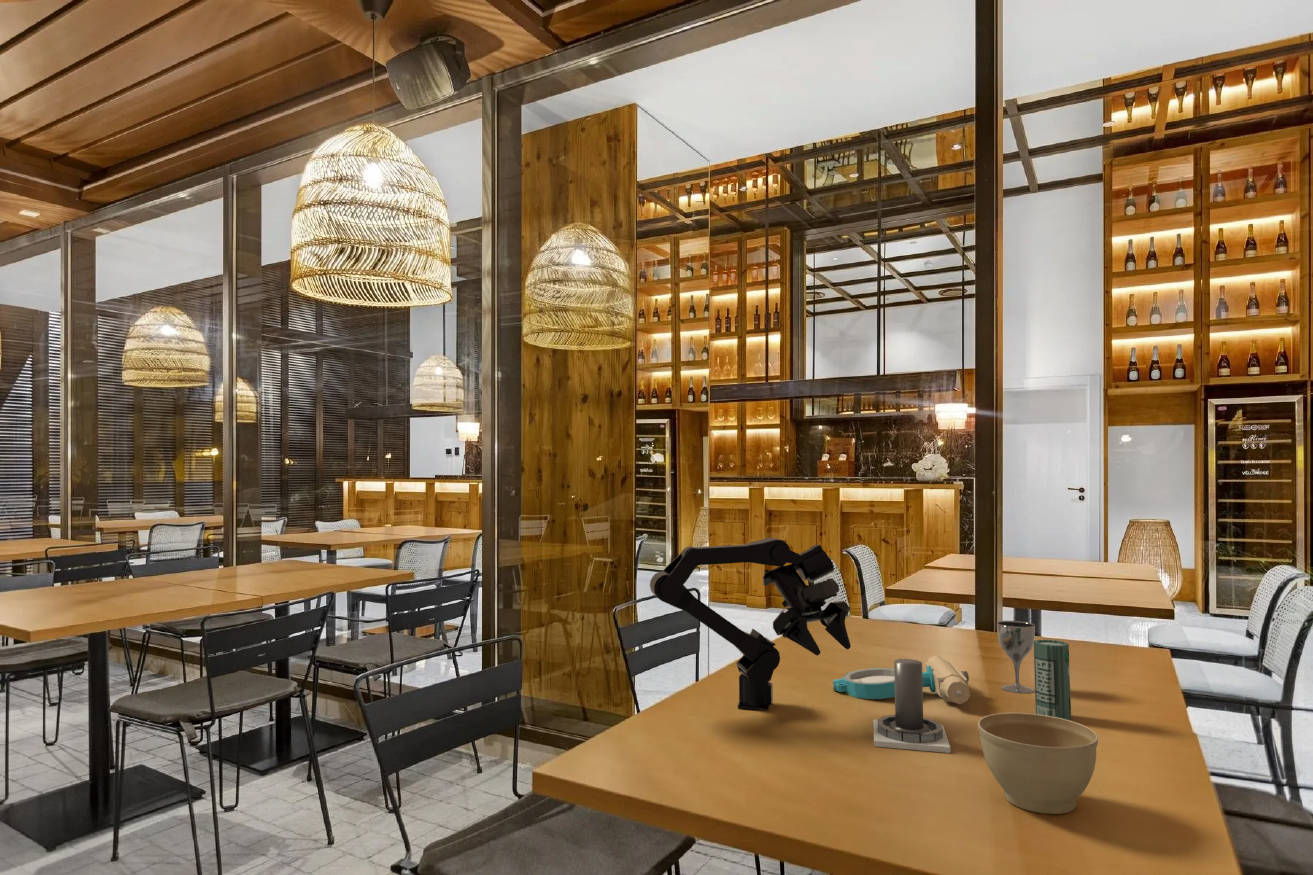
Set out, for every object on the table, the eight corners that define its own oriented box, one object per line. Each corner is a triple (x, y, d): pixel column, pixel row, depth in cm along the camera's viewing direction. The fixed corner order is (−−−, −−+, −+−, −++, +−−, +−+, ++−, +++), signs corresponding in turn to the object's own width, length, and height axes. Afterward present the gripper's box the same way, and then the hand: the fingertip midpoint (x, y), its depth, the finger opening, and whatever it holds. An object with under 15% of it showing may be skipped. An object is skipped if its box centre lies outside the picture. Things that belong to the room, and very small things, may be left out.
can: (1076, 718, 154) (1074, 643, 155) (1059, 723, 151) (1056, 647, 152) (1047, 710, 159) (1045, 638, 160) (1030, 715, 156) (1028, 641, 157)
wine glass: (999, 691, 174) (997, 625, 174) (998, 683, 181) (996, 619, 182) (1038, 695, 171) (1036, 627, 172) (1035, 686, 178) (1033, 621, 179)
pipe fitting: (890, 736, 140) (889, 665, 140) (889, 724, 147) (888, 656, 147) (930, 740, 138) (929, 667, 139) (927, 727, 145) (926, 658, 145)
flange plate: (874, 746, 138) (873, 732, 138) (873, 724, 150) (873, 711, 150) (950, 752, 134) (950, 738, 134) (943, 729, 147) (942, 716, 147)
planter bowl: (996, 773, 125) (995, 705, 126) (1109, 798, 115) (1107, 725, 115) (965, 805, 113) (963, 730, 113) (1088, 837, 102) (1085, 754, 103)
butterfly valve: (837, 720, 162) (985, 712, 156) (833, 687, 162) (980, 678, 157) (832, 687, 188) (958, 679, 183) (828, 659, 189) (954, 650, 183)
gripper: (782, 569, 154) (824, 632, 145) (842, 563, 165) (885, 622, 156) (755, 603, 160) (794, 666, 151) (815, 595, 171) (855, 654, 162)
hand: (834, 651), depth 154 cm, fingers open, 9 cm apart
